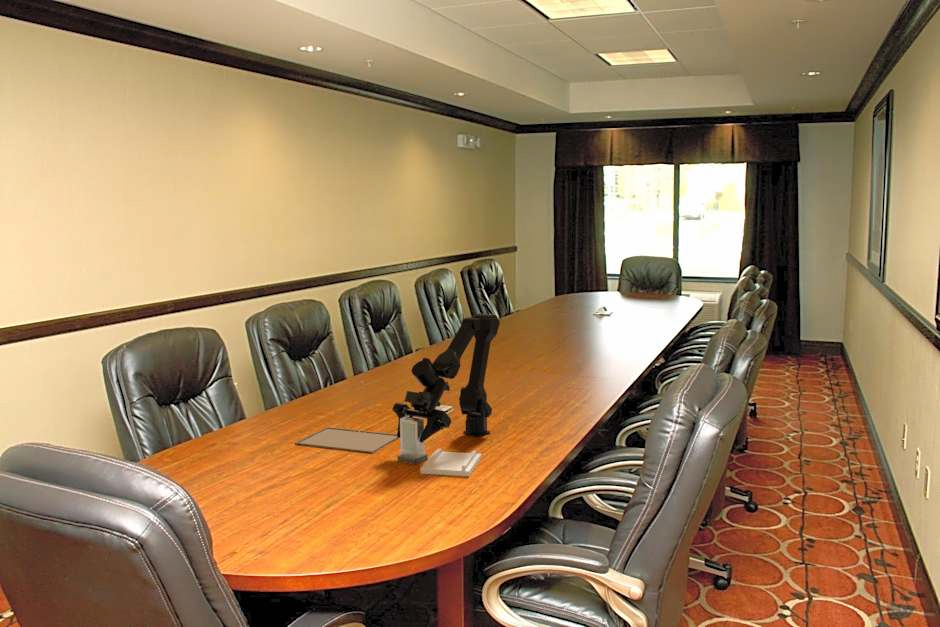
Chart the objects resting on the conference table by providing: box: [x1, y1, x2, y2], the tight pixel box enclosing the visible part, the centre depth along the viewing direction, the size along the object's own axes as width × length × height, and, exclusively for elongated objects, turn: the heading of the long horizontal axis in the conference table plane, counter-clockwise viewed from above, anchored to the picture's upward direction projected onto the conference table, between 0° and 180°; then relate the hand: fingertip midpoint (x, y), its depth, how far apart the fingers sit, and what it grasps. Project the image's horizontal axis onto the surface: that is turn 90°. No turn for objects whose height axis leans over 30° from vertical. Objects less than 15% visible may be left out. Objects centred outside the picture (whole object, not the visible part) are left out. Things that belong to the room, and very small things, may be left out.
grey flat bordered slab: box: [294, 426, 398, 454], centre depth 266 cm, size 19×1×28 cm
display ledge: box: [419, 448, 482, 477], centre depth 240 cm, size 16×14×3 cm
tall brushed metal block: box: [397, 416, 429, 466], centre depth 245 cm, size 6×6×12 cm
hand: (409, 439), depth 244 cm, fingers open, 8 cm apart
